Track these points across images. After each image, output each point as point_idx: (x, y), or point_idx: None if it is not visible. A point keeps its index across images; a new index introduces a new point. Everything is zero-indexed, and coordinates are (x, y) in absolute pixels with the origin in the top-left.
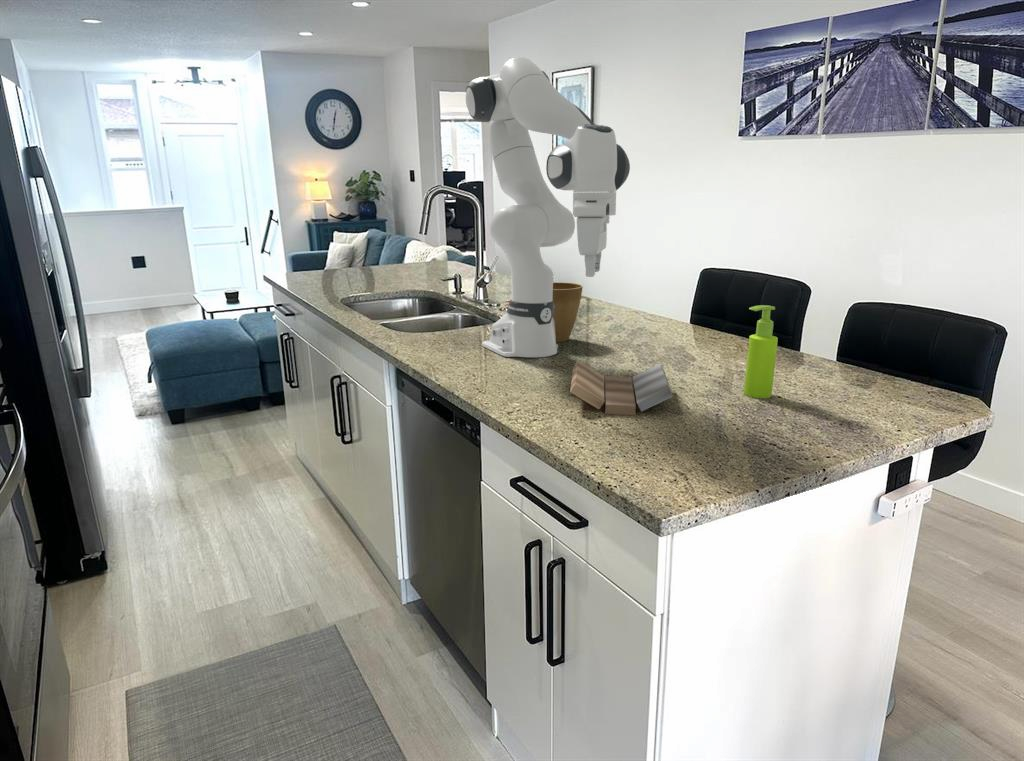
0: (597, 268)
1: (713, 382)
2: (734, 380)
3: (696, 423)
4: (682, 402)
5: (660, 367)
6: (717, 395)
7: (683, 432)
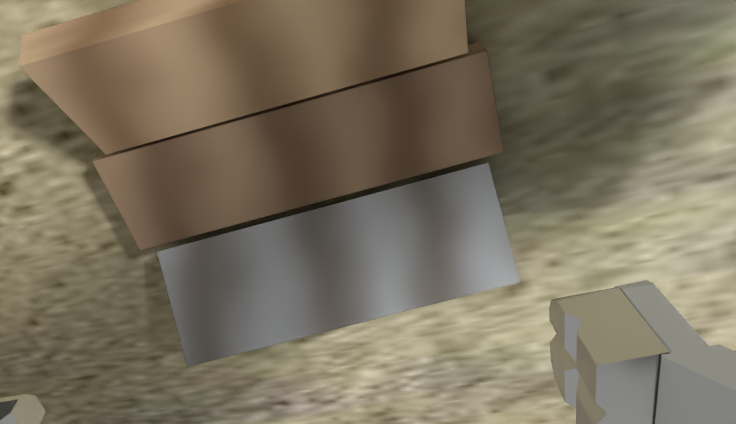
0: (570, 389)
1: None
2: None
3: (177, 377)
4: None
5: (463, 291)
6: (468, 379)
7: (82, 365)
